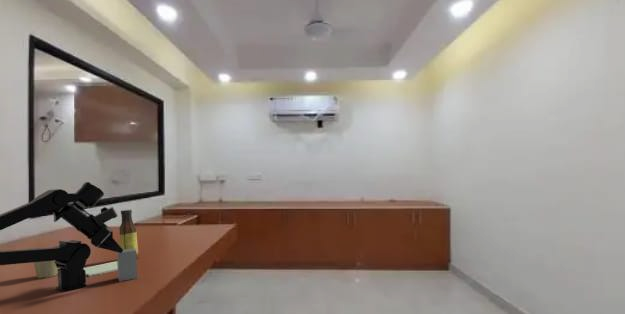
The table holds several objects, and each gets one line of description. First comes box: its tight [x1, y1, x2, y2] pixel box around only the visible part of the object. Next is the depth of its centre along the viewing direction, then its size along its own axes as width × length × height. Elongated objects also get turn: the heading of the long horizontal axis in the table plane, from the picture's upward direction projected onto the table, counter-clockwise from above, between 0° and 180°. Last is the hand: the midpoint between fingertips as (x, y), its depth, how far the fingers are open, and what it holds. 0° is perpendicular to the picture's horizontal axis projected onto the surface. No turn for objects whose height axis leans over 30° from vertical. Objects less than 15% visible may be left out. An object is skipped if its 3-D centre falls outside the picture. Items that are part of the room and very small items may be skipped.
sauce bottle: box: [118, 209, 139, 259], centre depth 166 cm, size 7×6×20 cm
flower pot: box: [33, 260, 60, 279], centre depth 144 cm, size 9×9×9 cm
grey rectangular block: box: [116, 248, 138, 282], centre depth 134 cm, size 5×5×9 cm
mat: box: [83, 260, 118, 277], centre depth 150 cm, size 16×14×1 cm
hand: (120, 249), depth 134 cm, fingers open, 9 cm apart
